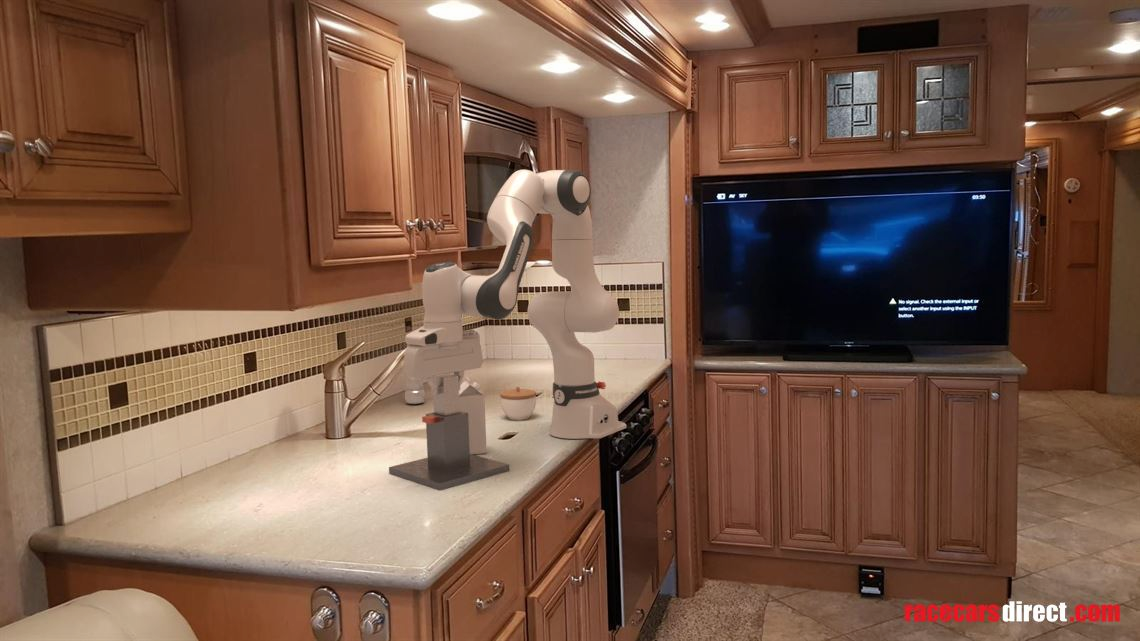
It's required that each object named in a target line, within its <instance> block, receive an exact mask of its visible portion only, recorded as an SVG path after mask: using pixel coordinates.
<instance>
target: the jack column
mask: <svg viewBox="0 0 1140 641" xmlns="http://www.w3.org/2000/svg"><path fill="white" fill-rule="evenodd" d="M436 377H437V380H434V381H435V383H436V384H437V386H440V387H441V390H440V391H441V394H437V395H433V394H432V397H433V412H434V414H435V415H439V416H443V417H446V416H451V415H455V414H460V410H459V384H458V376H457V375H454V374H452V373H447V374H441V375H436Z"/></svg>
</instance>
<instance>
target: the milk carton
mask: <svg viewBox="0 0 1140 641" xmlns="http://www.w3.org/2000/svg"><path fill="white" fill-rule="evenodd" d="M464 377H465V380H464V381H462V383H460V390H459V410H460V411H461V412H466V413H468V423H469V449H470V454H473V455H480V454H487V453H488V452H487V428H486V427H487V426H486V425H487V424H486V400H485V398H486V397H485V394H484V393H483V392H482V391H481V390H480V389H481V388H482V385H480V384H479V383H477V381H474V382H473V383H471V380H470V378H469V377H468V376H467V375H464Z"/></svg>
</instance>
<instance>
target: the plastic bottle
mask: <svg viewBox="0 0 1140 641" xmlns="http://www.w3.org/2000/svg"><path fill="white" fill-rule="evenodd" d="M408 345H410V344H407V343H406V347H407V346H408ZM405 379H406V380H405V390H404V391H405V392H404V400H405V402H406V403H407V404H409V405H419V404H422V403H424V401H425V398H426V393H425V389H424V383H423V382H424V381H423V378H418V379H413V378H408V377H407V376H406V375H405Z"/></svg>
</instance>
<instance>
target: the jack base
mask: <svg viewBox="0 0 1140 641" xmlns="http://www.w3.org/2000/svg"><path fill="white" fill-rule="evenodd" d="M421 420H422V421H421V422H422V423H425V426H426V427H425V428H426V429H425V430H426V431H425V432H426V447H427V448H426V451H427V453H426V454H427V457H424V458H421V459H417V460H413V461H409V462H405V463H401V464H397V465H392V466H389V467H388V473H389V474H390V475H393V476H395V477H399V478H402V479H404V480H405V479H406V480H409V481H411V482H414V483H417V484H420V485H423V486H426V487H430V488H432V489H435V490H438V491H442V490H445V489H450V488H453V487H457V486H460V485H463V484H467V483H470V482H475V481H477V480H481V479H484V478H488V477H491V476H492V477H493V476H496V475H499V474H503V473H506V472H510V464H509V463H506V462H501V461H498V460H494V459H491V458H488V457H483V456H480V455H477V454H470V449H469V423H468V413H466V412H461V411H460V414H455V415H451V416H446V417H443V416H439V415H435V414H434V411H433V412H429V413H425V416H422V417H421Z"/></svg>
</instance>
